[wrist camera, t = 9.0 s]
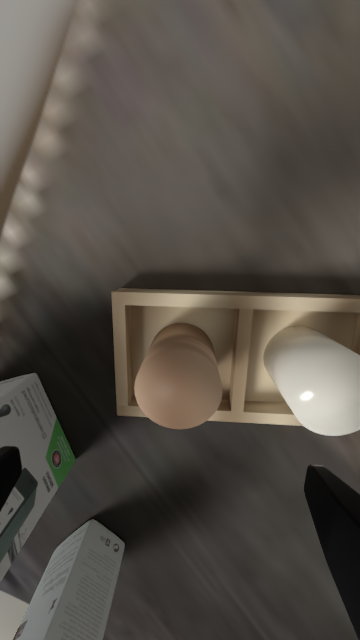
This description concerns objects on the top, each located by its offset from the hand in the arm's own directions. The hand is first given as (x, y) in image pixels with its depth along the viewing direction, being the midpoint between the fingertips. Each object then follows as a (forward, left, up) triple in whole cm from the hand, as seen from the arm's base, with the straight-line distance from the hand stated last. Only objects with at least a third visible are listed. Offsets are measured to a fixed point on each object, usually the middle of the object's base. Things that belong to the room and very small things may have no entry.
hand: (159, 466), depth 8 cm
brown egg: (0, 0, -10) cm, 10 cm away
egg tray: (-4, 0, -10) cm, 11 cm away
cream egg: (-8, 0, -10) cm, 13 cm away
